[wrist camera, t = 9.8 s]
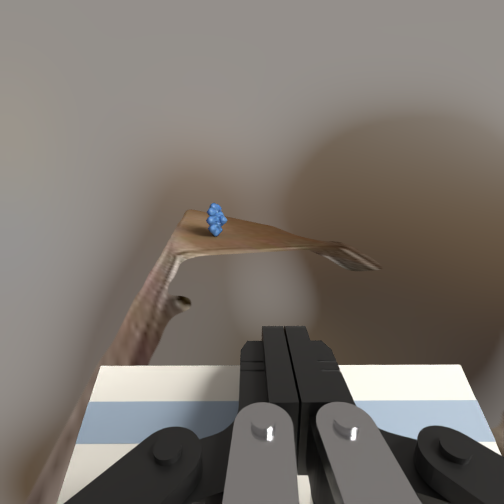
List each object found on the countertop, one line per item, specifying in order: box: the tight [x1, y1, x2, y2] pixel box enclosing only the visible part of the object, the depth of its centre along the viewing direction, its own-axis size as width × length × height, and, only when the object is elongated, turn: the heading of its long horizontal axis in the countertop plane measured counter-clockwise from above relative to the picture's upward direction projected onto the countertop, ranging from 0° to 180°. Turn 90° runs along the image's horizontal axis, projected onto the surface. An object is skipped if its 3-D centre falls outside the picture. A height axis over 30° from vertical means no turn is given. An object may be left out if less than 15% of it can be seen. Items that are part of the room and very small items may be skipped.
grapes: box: [206, 203, 227, 236], centre depth 107 cm, size 12×7×12 cm, turn 166°
